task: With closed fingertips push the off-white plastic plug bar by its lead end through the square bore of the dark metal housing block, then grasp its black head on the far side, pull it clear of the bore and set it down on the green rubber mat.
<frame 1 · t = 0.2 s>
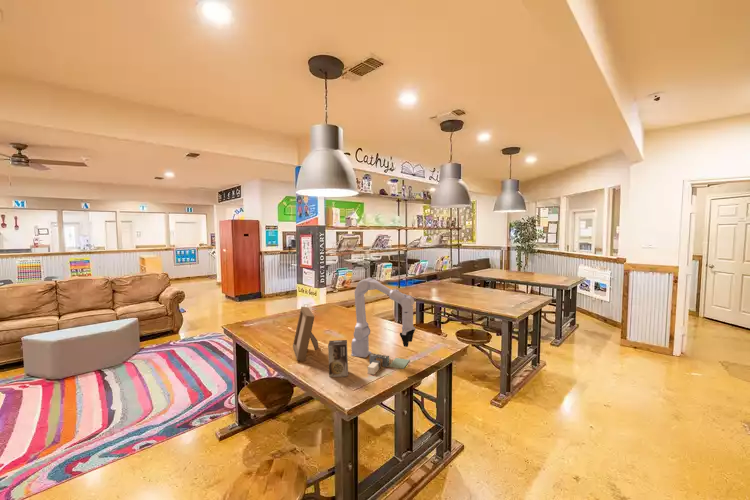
hand: (407, 343, 168), 10 cm above the table, fingers open, 7 cm apart
coffee box: (338, 374, 156), on the table
housing: (379, 364, 166), on the table
photo frame: (307, 353, 183), on the table
mat: (399, 363, 167), on the table
plug: (374, 370, 160), on the table
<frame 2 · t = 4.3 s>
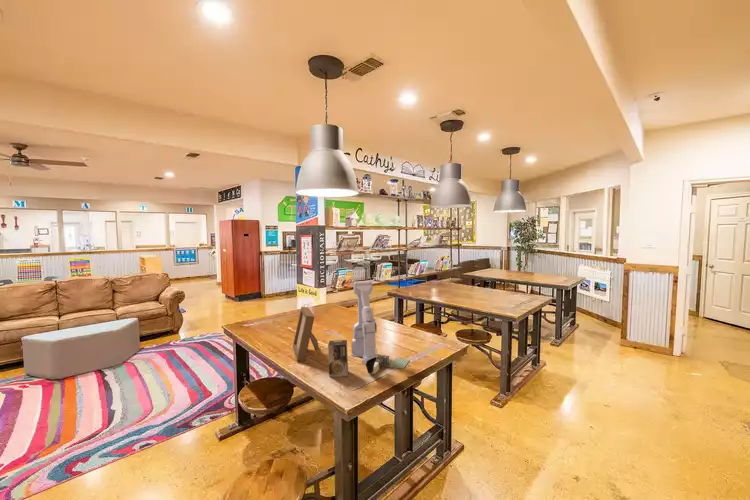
hand: (370, 372, 155), 1 cm above the table, fingers closed
plug: (374, 369, 160), on the table, touching gripper
everything else where it was.
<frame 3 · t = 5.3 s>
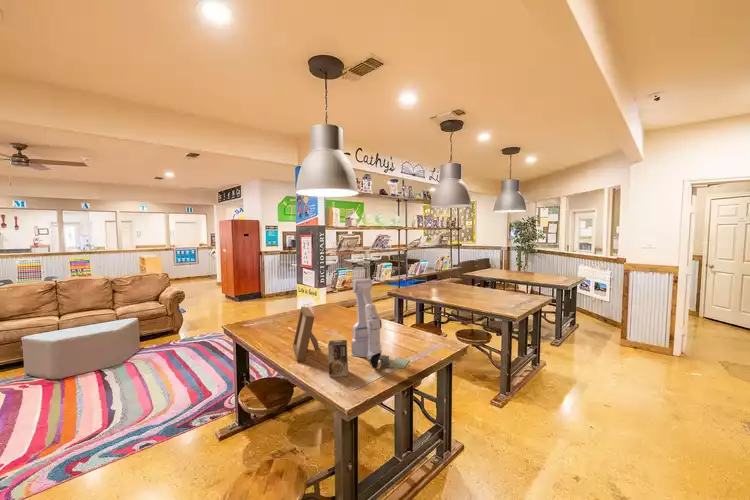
hand: (374, 367, 160), 1 cm above the table, fingers closed
plug: (378, 365, 166), on the table, touching gripper
everything else where it was.
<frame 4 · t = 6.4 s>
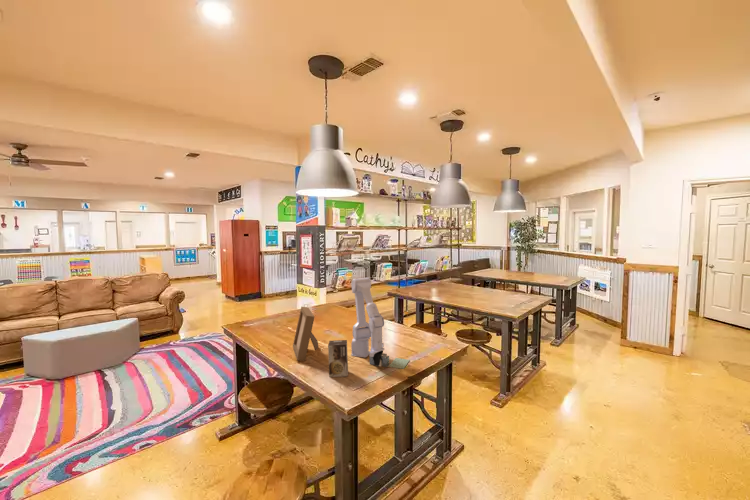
hand: (377, 365, 163), 1 cm above the table, fingers closed
plug: (381, 362, 168), on the table, touching gripper
everything else where it was.
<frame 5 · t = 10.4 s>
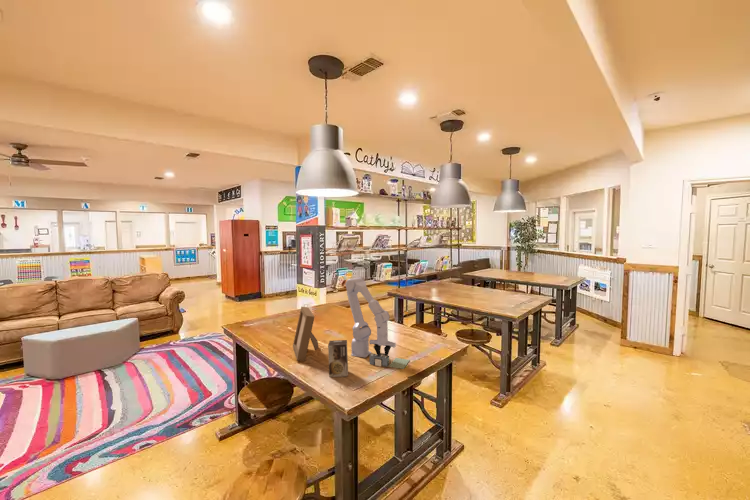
hand: (382, 358, 171), 1 cm above the table, fingers closed on plug, 3 cm apart
plug: (381, 362, 168), on the table, touching gripper
everything else where it was.
when the fingers open (3 cm above the table, at t = 14.9 s): plug stays where it is, resting on mat.
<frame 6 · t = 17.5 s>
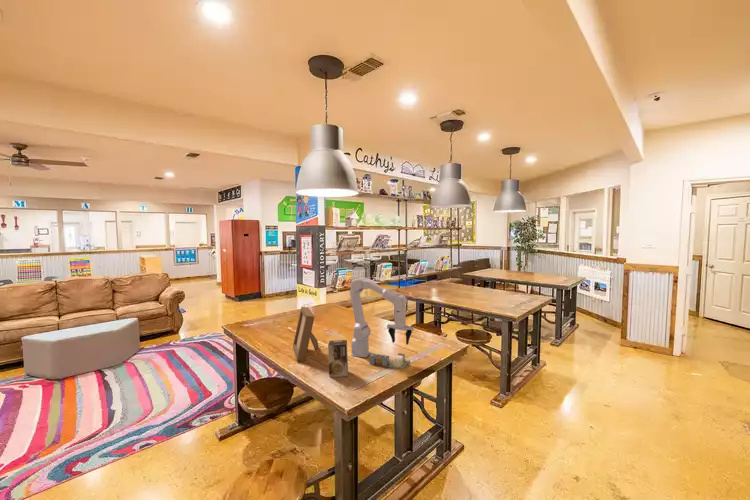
hand: (400, 343, 168), 10 cm above the table, fingers open, 7 cm apart
plug: (399, 363, 167), resting on mat
everything else where it was.
at the end: plug inside the target area (0.3 cm from its centre), resting on mat; plug tilted 0°; the gripper is holding nothing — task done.
